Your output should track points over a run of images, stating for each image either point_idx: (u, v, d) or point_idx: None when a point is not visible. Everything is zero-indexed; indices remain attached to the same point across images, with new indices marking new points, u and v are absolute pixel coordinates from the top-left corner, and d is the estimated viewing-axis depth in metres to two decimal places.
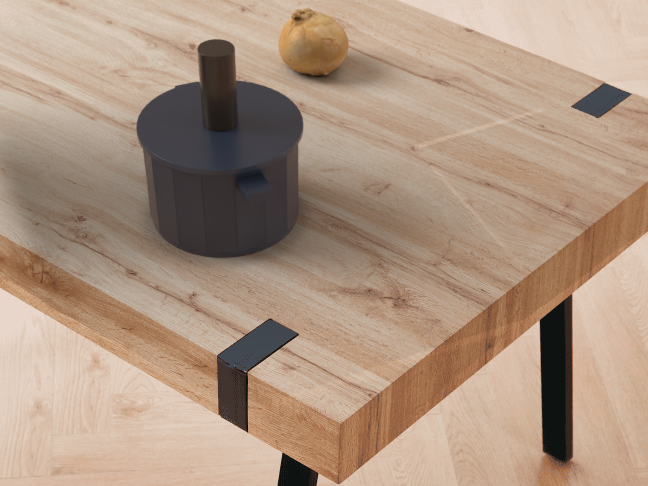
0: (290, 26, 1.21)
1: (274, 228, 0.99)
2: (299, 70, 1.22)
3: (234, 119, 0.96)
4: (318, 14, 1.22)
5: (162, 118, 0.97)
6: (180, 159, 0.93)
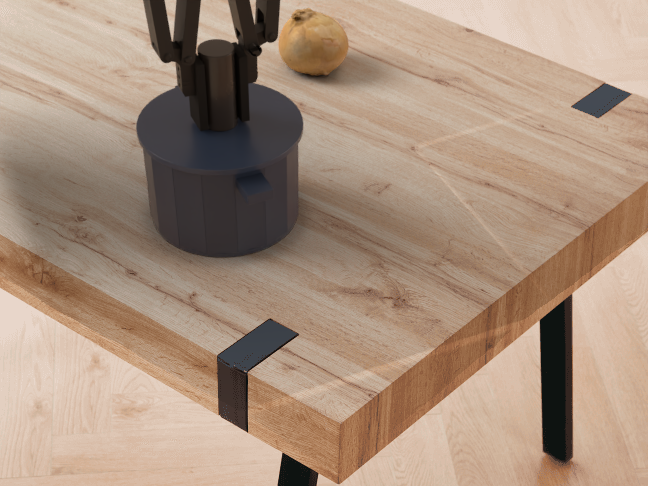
0: (290, 26, 1.21)
1: (274, 228, 0.99)
2: (299, 70, 1.22)
3: (234, 119, 0.96)
4: (318, 14, 1.22)
5: (162, 118, 0.97)
6: (180, 159, 0.93)
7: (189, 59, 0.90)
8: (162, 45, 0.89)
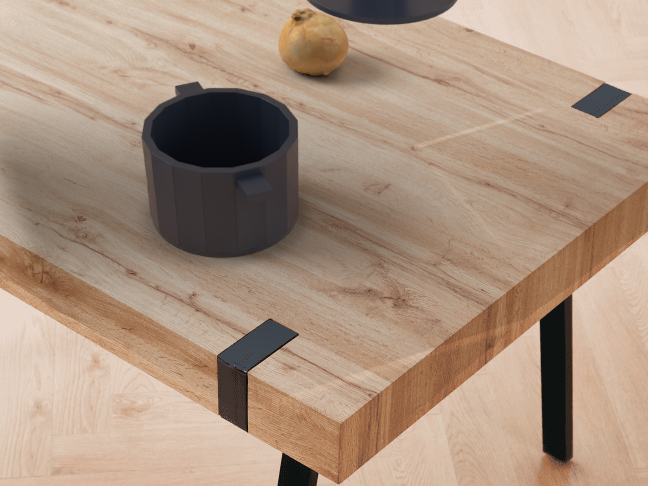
0: (290, 26, 1.21)
1: (274, 228, 0.99)
2: (299, 70, 1.22)
3: None
4: (318, 14, 1.22)
5: None
6: (349, 10, 0.96)
7: None
8: None
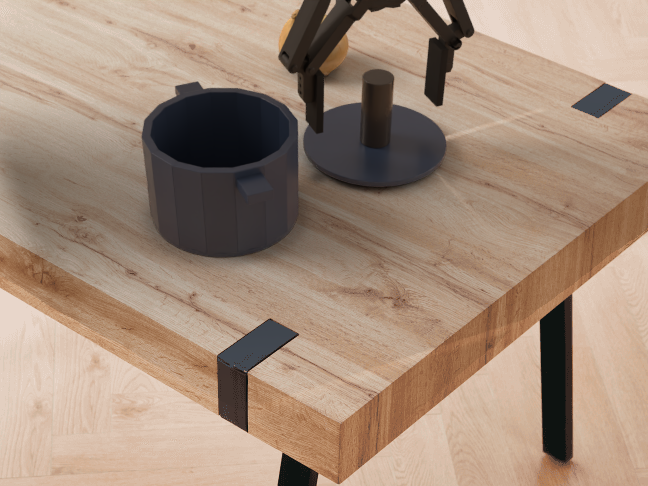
0: (290, 26, 1.21)
1: (274, 228, 0.99)
2: None
3: (388, 137, 1.11)
4: None
5: (325, 137, 1.12)
6: (347, 172, 1.08)
7: (312, 70, 1.02)
8: (297, 56, 1.00)
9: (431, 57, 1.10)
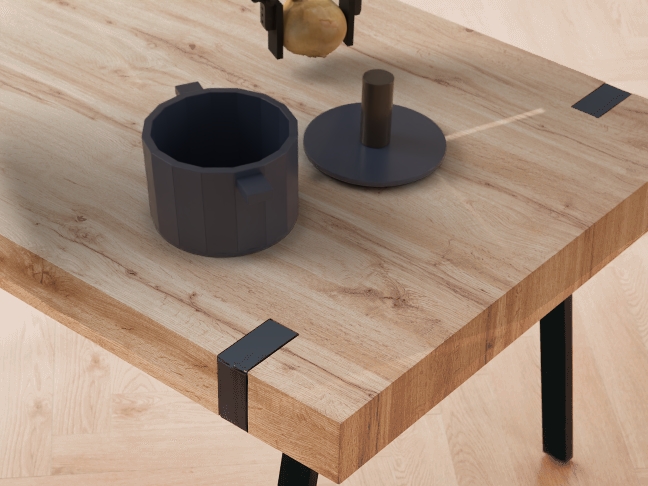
0: (287, 7, 1.19)
1: (274, 228, 0.99)
2: (296, 52, 1.20)
3: (388, 137, 1.11)
4: None
5: (325, 137, 1.12)
6: (347, 172, 1.08)
7: (272, 0, 1.16)
8: None
9: (341, 1, 1.22)
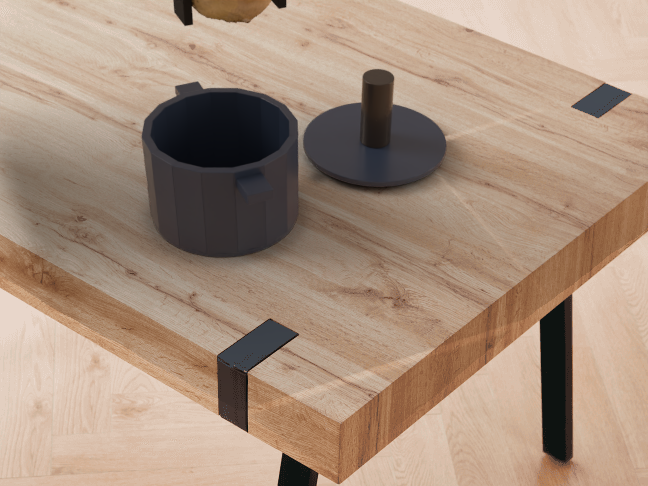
0: None
1: (274, 228, 0.99)
2: (210, 15, 0.92)
3: (388, 137, 1.11)
4: None
5: (325, 137, 1.12)
6: (347, 172, 1.08)
7: None
8: None
9: None
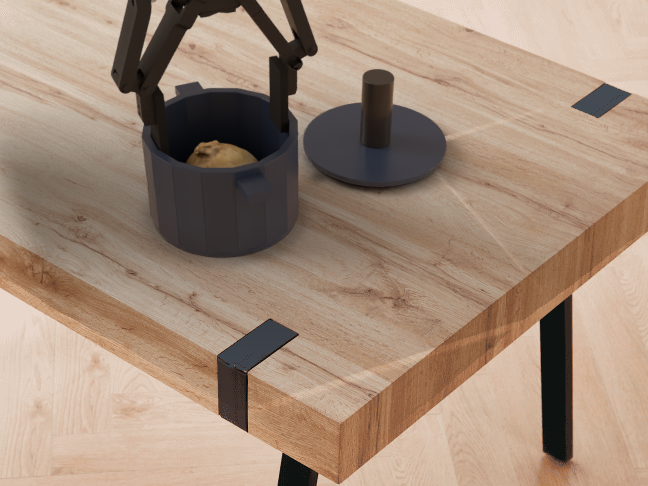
0: (192, 163, 0.99)
1: (274, 228, 0.99)
2: None
3: (388, 137, 1.11)
4: (227, 148, 1.00)
5: (325, 137, 1.12)
6: (347, 172, 1.08)
7: (148, 90, 0.90)
8: (126, 74, 0.89)
9: (272, 78, 0.98)
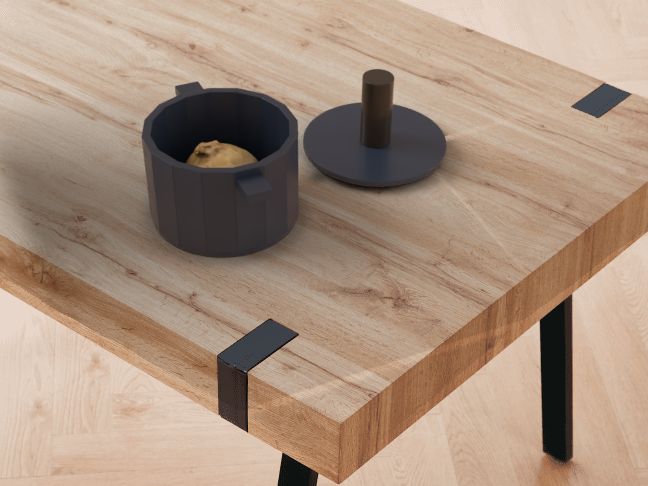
0: (192, 163, 0.99)
1: (274, 228, 0.99)
2: None
3: (388, 137, 1.11)
4: (227, 148, 1.00)
5: (325, 137, 1.12)
6: (347, 172, 1.08)
7: None
8: None
9: None
